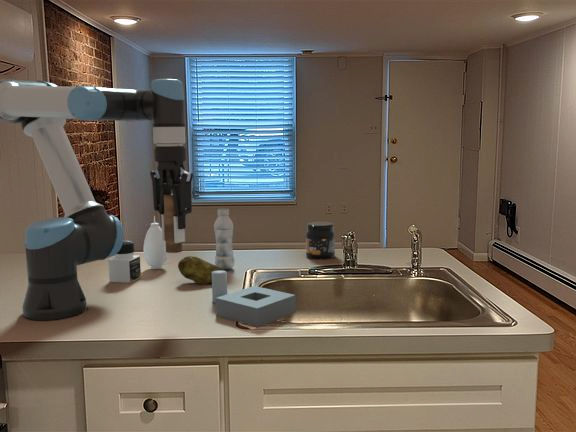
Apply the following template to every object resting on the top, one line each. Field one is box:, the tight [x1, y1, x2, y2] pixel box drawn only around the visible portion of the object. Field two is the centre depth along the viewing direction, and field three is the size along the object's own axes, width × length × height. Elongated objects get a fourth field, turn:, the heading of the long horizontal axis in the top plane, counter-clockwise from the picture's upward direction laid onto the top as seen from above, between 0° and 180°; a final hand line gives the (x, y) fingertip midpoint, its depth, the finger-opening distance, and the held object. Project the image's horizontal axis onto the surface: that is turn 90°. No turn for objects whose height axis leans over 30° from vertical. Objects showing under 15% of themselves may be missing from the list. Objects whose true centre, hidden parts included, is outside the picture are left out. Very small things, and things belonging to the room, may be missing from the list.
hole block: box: [215, 285, 297, 328], centre depth 145 cm, size 14×14×4 cm
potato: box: [177, 255, 223, 285], centre depth 175 cm, size 8×13×8 cm, turn 74°
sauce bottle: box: [142, 215, 169, 271], centre depth 193 cm, size 8×8×18 cm
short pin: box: [211, 270, 228, 304], centre depth 156 cm, size 4×4×8 cm
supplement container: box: [305, 221, 336, 260], centre depth 209 cm, size 10×10×12 cm
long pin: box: [164, 193, 183, 254], centre depth 143 cm, size 4×4×14 cm
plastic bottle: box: [213, 208, 235, 271], centre depth 190 cm, size 6×7×20 cm
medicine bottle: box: [107, 240, 142, 284], centre depth 179 cm, size 7×7×12 cm
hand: (173, 240), depth 143 cm, fingers closed on long pin, 4 cm apart
